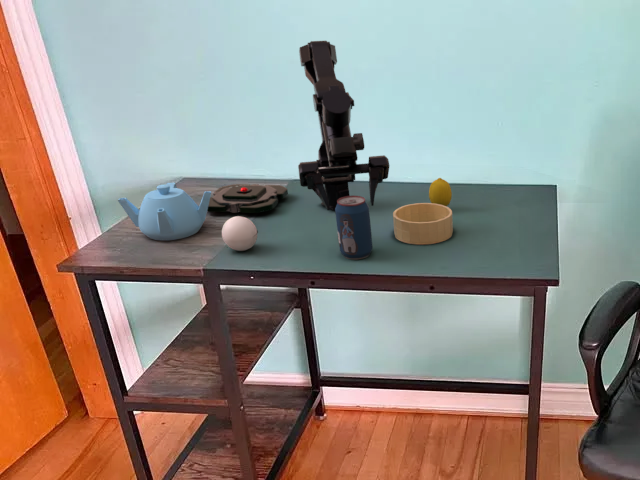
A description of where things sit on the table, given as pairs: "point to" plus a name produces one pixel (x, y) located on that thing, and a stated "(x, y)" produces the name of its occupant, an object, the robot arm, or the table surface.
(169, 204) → the teapot
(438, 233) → the cream yellow bowl
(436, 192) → the lemon
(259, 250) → the table surface
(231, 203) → the dark brown layered slab
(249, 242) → the white ball
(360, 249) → the soda can
